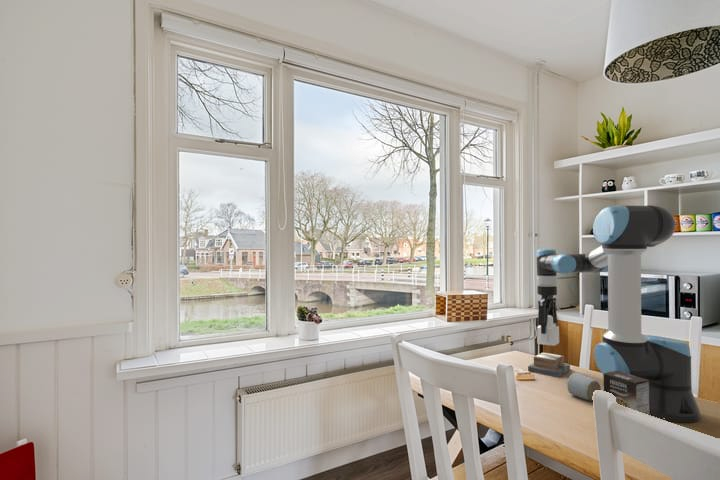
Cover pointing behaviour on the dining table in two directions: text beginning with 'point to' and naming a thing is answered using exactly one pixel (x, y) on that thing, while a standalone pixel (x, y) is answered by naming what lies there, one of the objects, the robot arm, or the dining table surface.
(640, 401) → the coffee box
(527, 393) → the dining table surface
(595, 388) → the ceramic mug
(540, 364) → the pedestal stand
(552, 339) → the medicine bottle
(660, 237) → the robot arm
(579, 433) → the dining table surface
